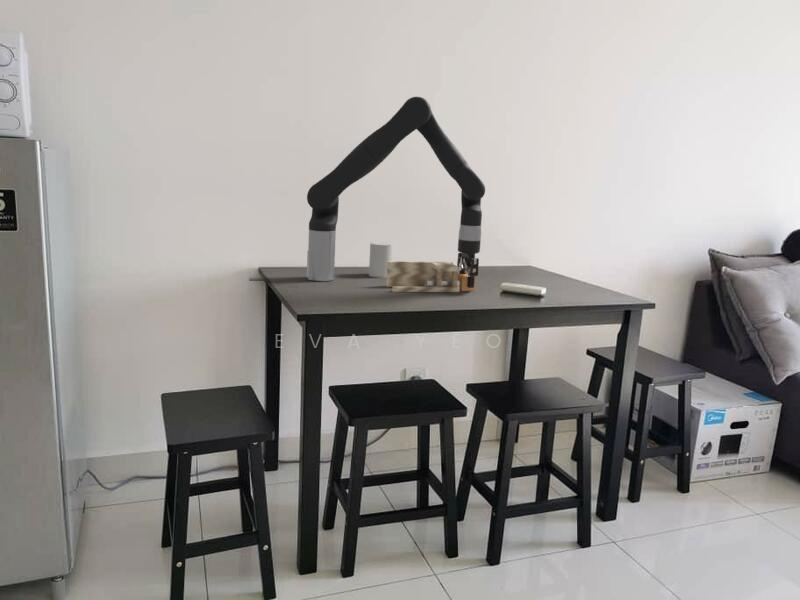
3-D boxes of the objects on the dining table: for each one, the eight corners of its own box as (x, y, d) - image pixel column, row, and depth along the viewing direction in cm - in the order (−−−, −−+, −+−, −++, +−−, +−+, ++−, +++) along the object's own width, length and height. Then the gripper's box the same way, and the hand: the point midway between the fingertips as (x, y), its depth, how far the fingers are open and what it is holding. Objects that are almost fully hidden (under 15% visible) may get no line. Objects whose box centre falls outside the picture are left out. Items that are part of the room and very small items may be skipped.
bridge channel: (393, 291, 205) (394, 266, 204) (386, 285, 215) (387, 261, 213) (459, 291, 211) (461, 267, 210) (449, 286, 221) (451, 262, 219)
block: (461, 291, 213) (462, 276, 212) (455, 288, 218) (456, 274, 217) (474, 290, 215) (475, 276, 214) (467, 287, 220) (469, 273, 219)
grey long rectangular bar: (426, 291, 211) (427, 281, 210) (423, 289, 213) (424, 279, 213) (459, 291, 214) (460, 281, 214) (456, 289, 217) (456, 279, 216)
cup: (391, 274, 237) (393, 242, 234) (389, 278, 229) (391, 245, 226) (370, 272, 238) (372, 241, 235) (367, 276, 230) (368, 244, 227)
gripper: (487, 241, 208) (483, 289, 211) (472, 236, 221) (468, 281, 224) (466, 241, 206) (462, 289, 209) (452, 235, 219) (449, 281, 223)
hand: (466, 285), depth 217 cm, fingers open, 8 cm apart
